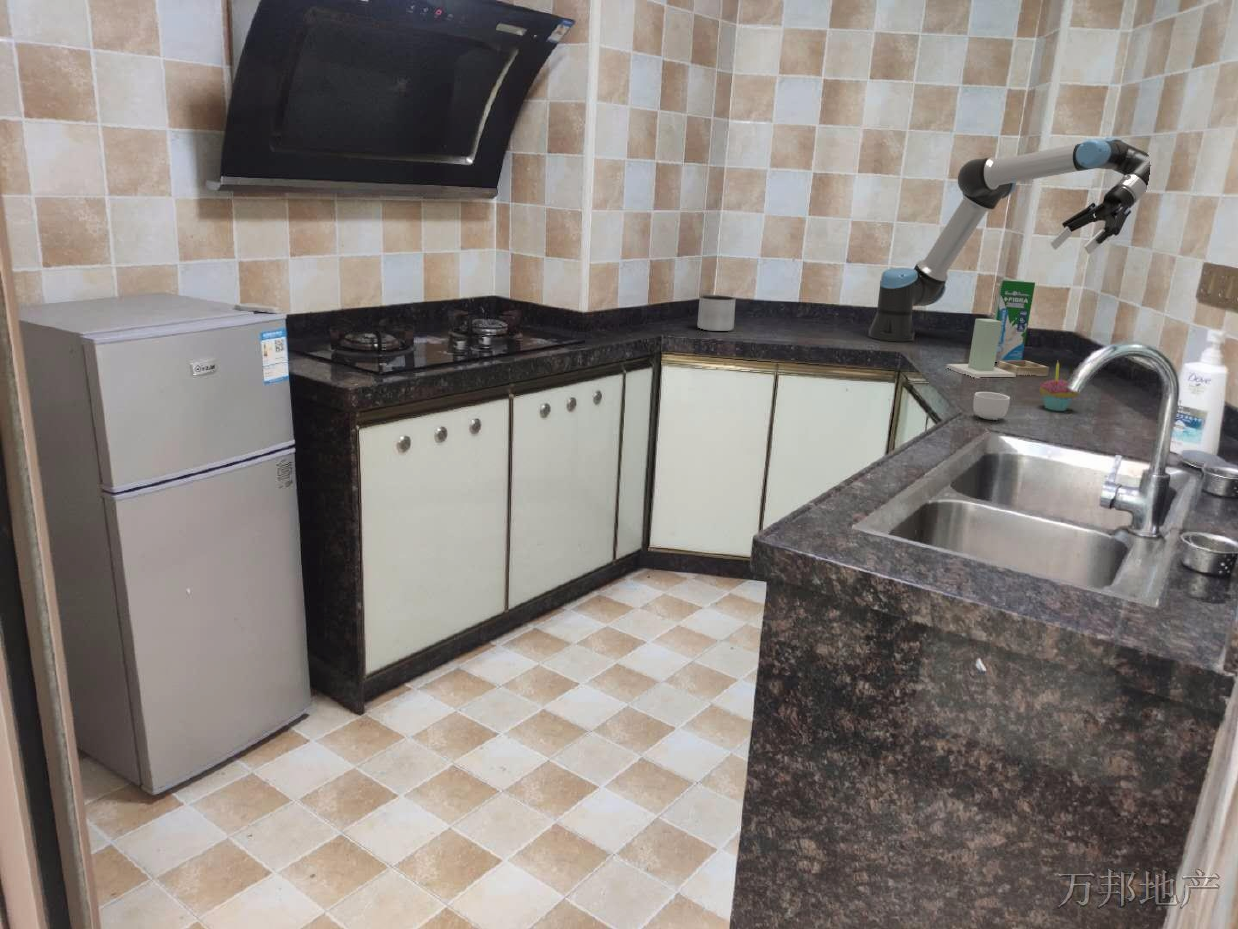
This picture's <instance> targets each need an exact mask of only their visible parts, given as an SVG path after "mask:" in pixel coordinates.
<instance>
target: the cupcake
mask: <svg viewBox="0 0 1238 929" xmlns="http://www.w3.org/2000/svg"><path fill="white" fill-rule="evenodd" d="M1059 372H1060V363H1059V360H1057V362H1056V364H1055V379H1051V380H1047V381H1044V382H1043V383H1042V384H1040V385H1039V386H1040V387H1039V394H1042V395H1041V396H1042V398H1043V403H1044V404H1043V405H1044V408H1045V409H1047V408H1048V409H1047V410H1051V411H1057V412H1063V411H1066V410H1067V408H1068V407H1069V404H1070V403H1071V401H1073V399H1075V398H1077V397H1078V392H1077V393H1073V392H1070V391H1069V390H1068V389H1067V382H1069V381H1068V380H1063V379H1059V374H1060V373H1059Z"/></svg>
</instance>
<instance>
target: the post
mask: <svg viewBox="0 0 1238 929" xmlns="http://www.w3.org/2000/svg"><path fill="white" fill-rule="evenodd" d="M1001 324H1002V322H1001V321H997V320H994V319H992V318H975V320H974V326H973V332H972V333H973V334H972V340H971V346H970V352H969V359H968V363H967V364H968V367H969V368H972V369H975V370H978V371H994V367H996V366H995V364H996V363H995V360H996V354H997V348H998V342H999V336H1000V330H1001Z"/></svg>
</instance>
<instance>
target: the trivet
mask: <svg viewBox="0 0 1238 929" xmlns="http://www.w3.org/2000/svg"><path fill="white" fill-rule="evenodd" d="M968 364H969V363H947V364H946V369H947V368H949V369H948V370H950V369H951V371H953V370H954V372H956V373H959V374H961V375H964V374H966V375H965V376H967V375H969V376H968V377H970V376H971V377H970V378H973V377H975V378H974V379H981V378H980V377H1015V378H1016V377H1017V376H1016V374H1015V373H1012V372H1009V371H1006V370H1003V369H1000V368H997V367H996V366H994V371H978V370H975V369H972V368H969V367H968Z"/></svg>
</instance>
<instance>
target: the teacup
mask: <svg viewBox="0 0 1238 929" xmlns="http://www.w3.org/2000/svg"><path fill="white" fill-rule="evenodd" d="M1010 402H1011V397H1010V396H1008V395H1006V394H1004V393H999V392H994V391H993V392H991V391H977V392H975V393H974V395H973V406H972V407H973V408H972V409H973V413H974V414H975V416H977V415H978V416H980V417H987V418H996V419H997V418H1001V419H1003V418H1004V417H1005V415H1007V412H1008V410H1009V407H1010ZM978 416H977V417H978Z"/></svg>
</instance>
